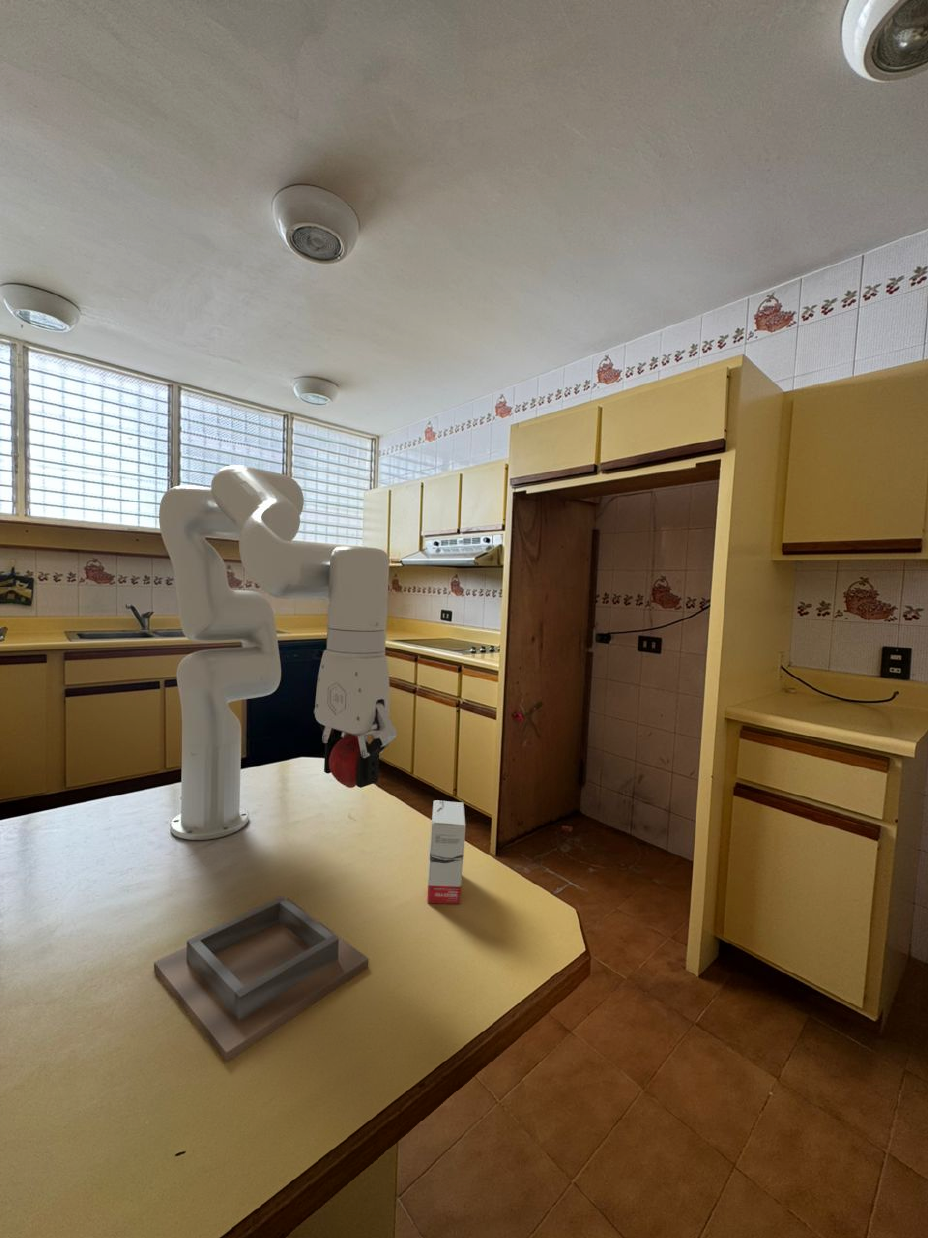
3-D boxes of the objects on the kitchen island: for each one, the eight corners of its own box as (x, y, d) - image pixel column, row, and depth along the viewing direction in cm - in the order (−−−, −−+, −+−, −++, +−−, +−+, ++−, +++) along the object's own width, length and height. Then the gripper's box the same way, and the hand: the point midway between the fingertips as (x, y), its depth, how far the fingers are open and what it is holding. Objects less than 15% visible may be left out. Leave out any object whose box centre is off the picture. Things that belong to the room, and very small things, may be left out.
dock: (153, 970, 60) (154, 941, 60) (287, 905, 73) (288, 880, 73) (226, 1062, 49) (227, 1027, 49) (368, 967, 62) (369, 938, 62)
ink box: (461, 905, 75) (465, 824, 75) (426, 904, 75) (430, 823, 74) (460, 872, 84) (464, 799, 83) (428, 871, 84) (432, 798, 83)
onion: (362, 799, 67) (365, 737, 66) (320, 793, 68) (322, 732, 67) (378, 782, 73) (381, 725, 72) (339, 777, 74) (341, 720, 73)
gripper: (292, 636, 71) (288, 767, 73) (379, 653, 61) (372, 806, 62) (337, 634, 77) (332, 755, 78) (424, 648, 67) (417, 788, 68)
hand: (350, 776), depth 70 cm, fingers closed on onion, 5 cm apart
